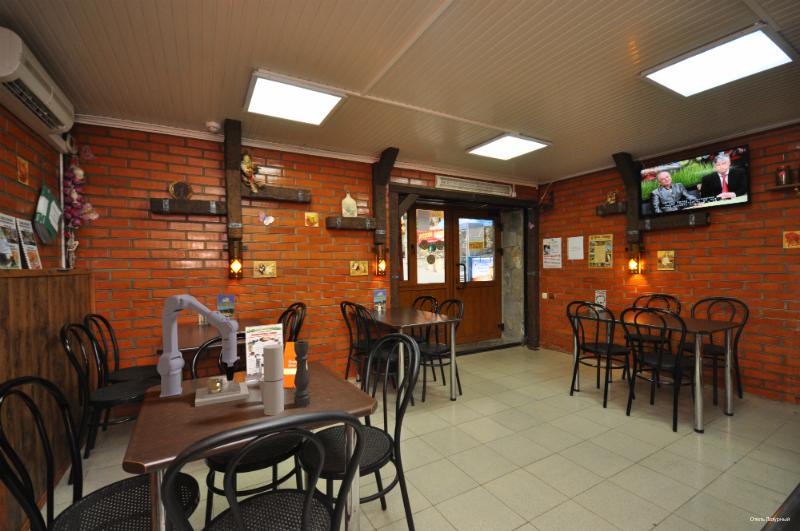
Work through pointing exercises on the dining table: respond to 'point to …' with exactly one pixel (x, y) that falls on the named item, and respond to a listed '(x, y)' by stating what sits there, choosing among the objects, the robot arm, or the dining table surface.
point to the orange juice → (290, 365)
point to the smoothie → (262, 388)
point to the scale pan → (224, 390)
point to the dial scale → (222, 398)
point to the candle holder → (301, 374)
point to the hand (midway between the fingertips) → (229, 379)
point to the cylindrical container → (273, 379)
